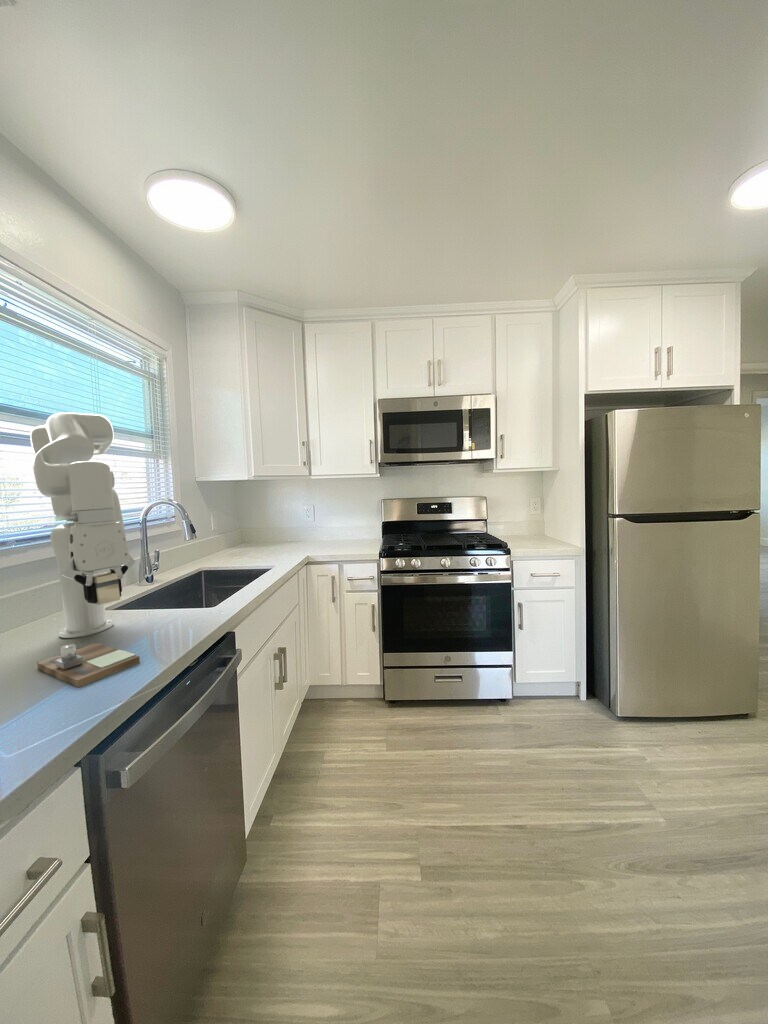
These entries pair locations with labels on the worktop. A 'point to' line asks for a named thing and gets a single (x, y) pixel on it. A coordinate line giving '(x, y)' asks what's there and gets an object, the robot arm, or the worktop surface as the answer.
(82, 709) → the worktop surface
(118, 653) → the pad
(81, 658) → the silver slider knob
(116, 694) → the worktop surface
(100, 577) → the beige block
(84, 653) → the board
